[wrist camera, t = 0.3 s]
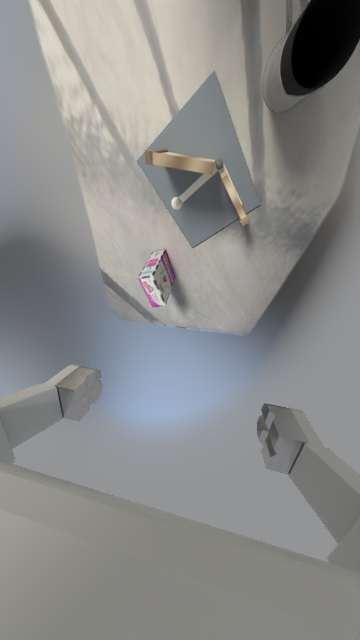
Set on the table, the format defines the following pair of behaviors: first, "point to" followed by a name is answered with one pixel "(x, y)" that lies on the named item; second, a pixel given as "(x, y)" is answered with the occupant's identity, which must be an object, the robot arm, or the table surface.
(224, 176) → the bar
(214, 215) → the card
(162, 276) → the candy bar box
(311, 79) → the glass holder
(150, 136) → the table surface
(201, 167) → the brown wooden panel
